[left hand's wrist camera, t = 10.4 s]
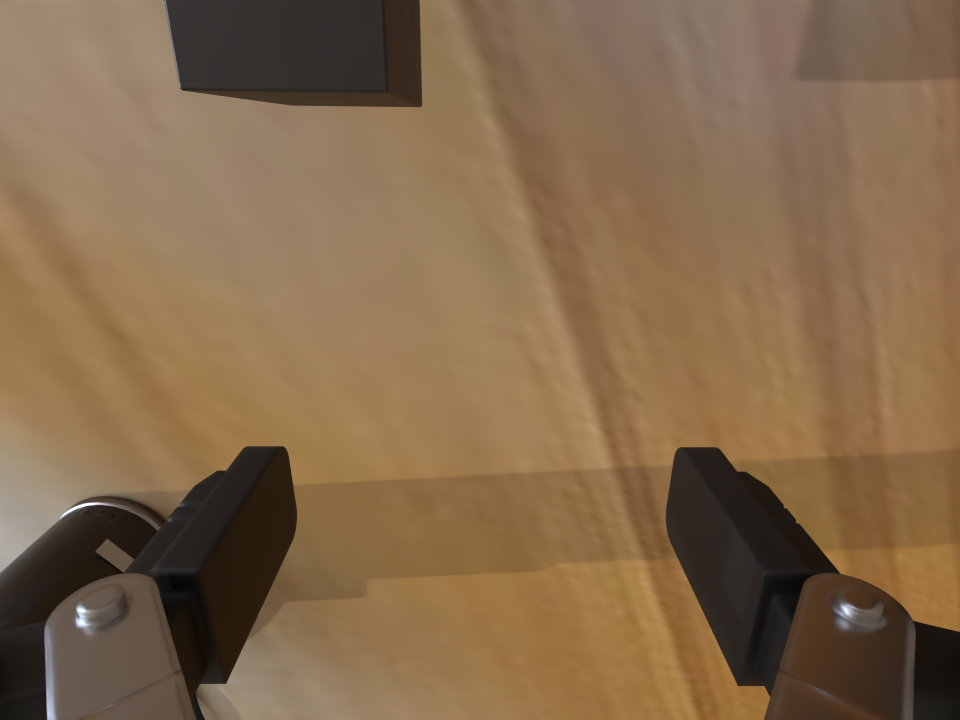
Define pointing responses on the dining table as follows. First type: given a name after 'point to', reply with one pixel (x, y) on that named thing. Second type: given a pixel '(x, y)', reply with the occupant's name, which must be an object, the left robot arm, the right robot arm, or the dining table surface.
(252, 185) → the dining table surface
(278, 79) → the box
